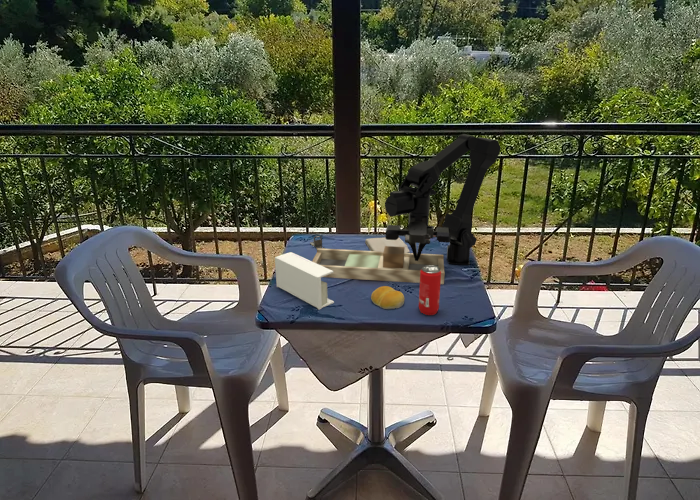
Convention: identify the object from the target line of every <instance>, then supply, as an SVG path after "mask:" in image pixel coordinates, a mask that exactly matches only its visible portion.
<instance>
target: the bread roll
mask: <svg viewBox="0 0 700 500" xmlns="http://www.w3.org/2000/svg"><path fill="white" fill-rule="evenodd" d="M370 299H371V301H372V303H373V304H374V305H376V306H378V307H380V308H381V309H383V310H395V308H396V309H399V308H401V307H403V305H404V304H405V296H404V294H403V293H402V291H398V290H395V288H393V287H391V286H388V285H383V286H382V285H381V286H379V287H377V288H376V289H375V290H373V291H372V292H371V296H370Z"/></svg>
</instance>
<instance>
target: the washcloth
mask: <svg viewBox="0 0 700 500" xmlns="http://www.w3.org/2000/svg"><path fill="white" fill-rule="evenodd" d="M385 238H386V236H385V237H372V238H371V237H370V238H366V239H365V242H364V243H365V244H366V247H368V249H369V251H380V252H384V248H385V246H394V247H405V250H404V253H411V251H410V249H409V247H408V245H407V243H405V241H403V240H402V239H401V238H400V237H399V238H398V239H397V240H387V239H385Z"/></svg>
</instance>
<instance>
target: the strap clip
mask: <svg viewBox="0 0 700 500" xmlns="http://www.w3.org/2000/svg"><path fill="white" fill-rule="evenodd" d="M316 238H320V239H316ZM309 244H311V245H312V247H313V246H314V247H313V248H315V247H316V249H317V248H321V249H327V248H325V246H323V238H322V236H321V235H318V236H314V237H313V241H310V242H309ZM311 245H310V246H311ZM322 247H323V248H322ZM316 249H315V250H316Z"/></svg>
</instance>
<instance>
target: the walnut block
mask: <svg viewBox="0 0 700 500" xmlns="http://www.w3.org/2000/svg"><path fill="white" fill-rule="evenodd" d="M404 250H405V247H394V246H385V248H384V252H383V267H386V268H403V265H404Z"/></svg>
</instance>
